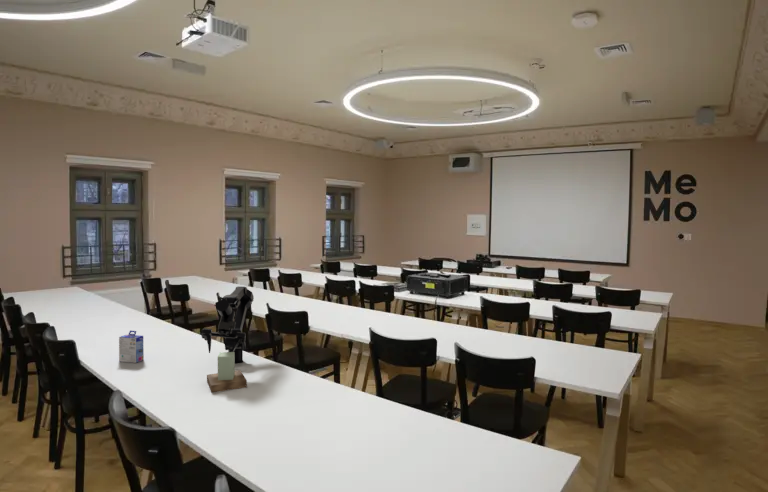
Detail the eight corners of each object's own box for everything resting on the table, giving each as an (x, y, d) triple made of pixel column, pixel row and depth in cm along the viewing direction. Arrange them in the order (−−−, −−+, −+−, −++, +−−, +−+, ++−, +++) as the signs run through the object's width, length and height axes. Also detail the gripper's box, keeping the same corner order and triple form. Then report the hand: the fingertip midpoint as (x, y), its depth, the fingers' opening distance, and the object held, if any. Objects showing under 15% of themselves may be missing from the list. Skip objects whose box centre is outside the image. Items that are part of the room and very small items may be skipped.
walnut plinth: (240, 376, 212) (240, 370, 212) (246, 387, 200) (246, 380, 200) (206, 381, 206) (206, 374, 206) (211, 392, 194) (211, 385, 193)
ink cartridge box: (144, 359, 234) (143, 330, 233) (136, 363, 229) (135, 333, 228) (127, 358, 236) (126, 329, 235) (118, 361, 231) (117, 332, 230)
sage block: (220, 375, 205) (219, 352, 205) (234, 374, 206) (234, 352, 206) (217, 380, 199) (217, 356, 199) (232, 379, 200) (232, 356, 200)
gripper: (204, 311, 210) (196, 344, 202) (248, 316, 215) (242, 349, 206) (205, 321, 219) (198, 354, 211) (247, 325, 223) (241, 358, 215)
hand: (220, 353), depth 210 cm, fingers open, 9 cm apart
